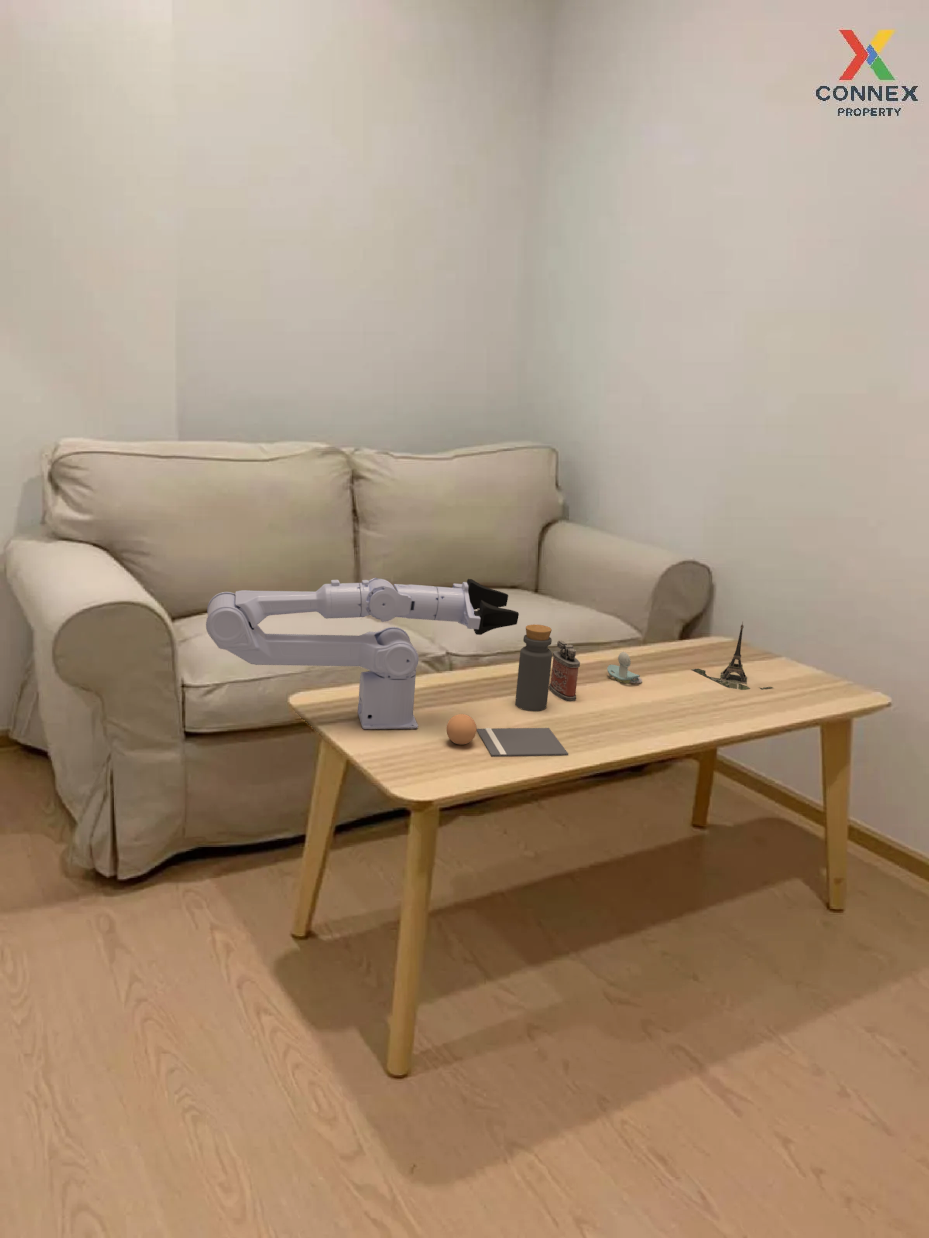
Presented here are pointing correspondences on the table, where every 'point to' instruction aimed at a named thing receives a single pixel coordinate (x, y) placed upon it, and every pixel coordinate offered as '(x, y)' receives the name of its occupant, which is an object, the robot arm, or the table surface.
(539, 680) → the bottle
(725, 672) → the eiffel tower figurine
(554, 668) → the lighter
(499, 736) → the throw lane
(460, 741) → the ball
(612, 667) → the pacifier
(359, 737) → the table surface
